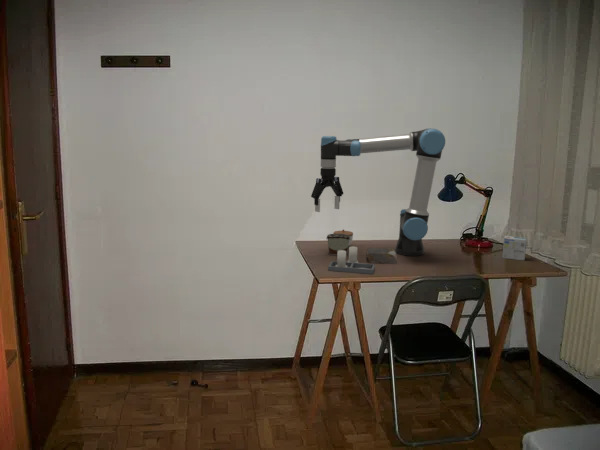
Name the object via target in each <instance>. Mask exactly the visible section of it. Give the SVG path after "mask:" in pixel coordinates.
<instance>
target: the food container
mask: <svg viewBox="0 0 600 450" xmlns="http://www.w3.org/2000/svg"><path fill="white" fill-rule="evenodd" d="M349 239H350V236H349V235H346V234H333V233H330V234H327V236H326V240H327V248H328V249H327V250H328V255H330V256H331V255H332V256H334V255H335V256H337V251H339V250H344V251H346V256H348V253H349V246H350V245H349ZM348 245H349V246H348Z"/></svg>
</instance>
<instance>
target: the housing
mask: <svg viewBox="0 0 600 450" xmlns="http://www.w3.org/2000/svg"><path fill="white" fill-rule="evenodd" d="M336 256H337V257H336V258H337V259H336V260H332V261H330V263H329V264H328V266H327V267H328V268H327V271H328V272H330V271H331V272H341V273H342V272H343V273H353V274H354V273H355V274H365V275H367V274H368V275H373V274H374V272H375V270H376V263H361V262H359V263H352V262H347V255H346V251H344V250H339V251H337V255H336Z"/></svg>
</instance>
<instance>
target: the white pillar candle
mask: <svg viewBox="0 0 600 450" xmlns="http://www.w3.org/2000/svg"><path fill="white" fill-rule="evenodd" d="M346 262H352V263H360V261H358V246H354V245H353V246H348V260H346Z"/></svg>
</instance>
